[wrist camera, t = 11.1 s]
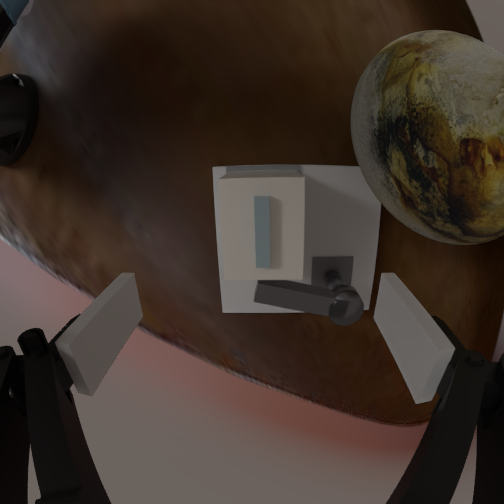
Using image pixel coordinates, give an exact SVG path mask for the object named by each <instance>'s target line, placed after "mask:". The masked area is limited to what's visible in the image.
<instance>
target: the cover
mask: <svg viewBox="0 0 504 504" xmlns="http://www.w3.org/2000/svg"><path fill="white" fill-rule="evenodd" d="M218 184H219V202H220V219H221V235H222V251H223V265H224V279H225V280H301V279H303V259H304V217H305V177H304V176H303V175H301V174H300V173H299V172H298V171H297V170H255V171H230V172H229V173H227V174H225V175H224V176H222V177H221V178H219V179H218Z"/></svg>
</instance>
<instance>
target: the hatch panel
mask: <svg viewBox="0 0 504 504" xmlns="http://www.w3.org/2000/svg"><path fill="white" fill-rule="evenodd" d="M255 170H297V171H298V172H299V173H300V174H301V175H303V176H304V177H305V217H304V259H303V279H301V280H289V281H294V282H299V283H304V284H309V285H314V286H319V287H324V288H327V285H326V283H325V280H324V276H325V274H326V273H327V272H328V271H330V270H336V271H338V272H339V273H340V275H341V277H342V279H343V281H344V283H345V285H350V286H352V287H354V288H355V289H356V290H357V292H358V294H359V295H360V297H361V299H362V301H363V303H364V310H369V304H370V298H371V292H372V285H373V278H374V271H375V263H376V254H377V245H378V235H379V224H380V211H381V202H380V201H379V200H378V199H377V197H376V196H375V195H374V193H373V192H372V190H371V189H370V187H369V185H368V184H367V182H366V180H365V178H364V176H363V174H362V172H361V169H360V167H359V166H339V165H240V166H218V167H213V185H214V203H215V219H216V234H217V248H218V261H219V274H220V286H221V298H222V309H223V313H295V312H302V311H297V310H292V309H286V308H281V307H276V306H271V305H266V304H261V303H256V302H253V301H254V292H255V288H256V284H257V280H225V279H224V265H223V251H222V235H221V219H220V202H219V184H218V179H219V178H221V177H222V176H224V175H225V174H227V173H229V172H230V171H255Z"/></svg>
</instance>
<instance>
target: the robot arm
mask: <svg viewBox="0 0 504 504" xmlns="http://www.w3.org/2000/svg"><path fill="white" fill-rule="evenodd" d="M28 2H29V0H0V48H1V46H2V45H3V43H4V41H5V40H6V38H7V36H8V35H9V33H10V31H11V30H12V28H13V27H15V25H16V23H17V20H18V18H19V16H20V15H21V13H22V11H23V10H24V8H25V7H26V5H27V4H28ZM37 115H38V96H37V90H36V87H35V85H34V83H33V81H32V80H31V79H30V78H29V77H28V76H26V75H23V74H15V73H12V74H7V75H4V76H0V166H4V165H9V164H12V163H14V162H16V161H17V160H18V159H19V158H20V157H21V156H22V155H23V153H24V152H25V151H26V149H27V147H28V145H29V143H30V141H31V139H32V136H33V133H34V130H35V126H36V121H37ZM142 317H143V314H142V310H141V305H140V301H139V296H138V291H137V286H136V281H135V275H134V273H121V274H120V275H119V276H118V277H117V278H116V279H115V280H114V281H113V282H112V283H111V284H110V285H109V286H108V287H107V288H106V289H105V290H104V291H103V292H102V293H101V294H100V295H99V296H98V297H97V298H96V299H95V300H94V301H93V302H92V303H91V304H90V305H89V306H88V307H87V308H86V309H85V310H84V312H83V313H82V314H79V315H77V316H75V317H74V318H72V319H71V320H70V321H69V322H68V323H67V324H66V326H64V327H63V328H62V330H61V331H59V333H58V334H57V335H56V336H55V337H54V338H53V339H52V340H51V341H50V342H49V343H48V342H47V340H46V337H45V335H44V332H43V330H42V329H40V328H32V329H29V330H26V331H25V332H23V333H22V334H21V335H20V336H19V337H18V340H17V341H18V343H19V345H20V348H21V350H22V352H23V354H24V355H16V354H15V352H14V350H13V347H11V346H2V347H0V504H28V501H27V500H28V497H27V496H28V494H27V492H28V486H27V485H28V464H29V450H30V444H31V450H32V456H33V462H34V467H35V472H36V476H37V480H38V485H39V489H40V493H41V498H40V499H37V500H36V501H35V504H111V502H110V500H109V498H108V496H107V493H106V491H105V489H104V487H103V485H102V482H101V480H100V477H99V475H98V472H97V470H96V467H95V465H94V462H93V459H92V457H91V454H90V451H89V448H88V446H87V443H86V440H85V437H84V433H83V430H82V427H81V424H80V420H79V417H78V413H77V410H76V406H75V402H74V398H73V394H72V393H71V391H70V387H71V386H72V384H73V383H74V385H75V387H76V389H77V391H78V393H81V394H85V395H89V396H93V394H94V393H95V391H96V389H97V388H98V386H99V384H100V383H101V381H102V379H103V378H104V376H105V374H106V373H107V371H108V370H109V368H110V366H111V365H112V363H113V362H114V360H115V359H116V357H117V355H118V354H119V352H120V351H121V349H122V348H123V346H124V344H125V343H126V341H127V340H128V338H129V337H130V335H131V334H132V332H133V331H134V329H135V328H136V326H137V325H138V323H139V322H140V320H141V319H142ZM374 320H375V322H376V324H377V326H378V327H379V329H380V331H381V333H382V335H383V337H384V339H385V341H386V343H387V345H388V347H389V349H390V351H391V353H392V355H393V357H394V359H395V361H396V363H397V365H398V367H399V369H400V371H401V373H402V375H403V377H404V379H405V381H406V383H407V386H408V388H409V390H410V392H411V394H412V396H413V399H414V401H415V403H416V404H418V403H423V402H427V401H431V400H432V398H433V396H434V394H435V392H436V390H437V392H438V394H439V395H440V398H439V400H438V402H437V404H436V405H435V407H434V409H433V411H432V413H431V415H432V417H431V419H430V421H429V424H428V426H427V428H426V431H425V433H424V435H423V437H422V439H421V442H420V444H419V446H418V448H417V450H416V452H415V454H414V456H413V458H412V460H411V462H410V464H409V465H408V467H407V469H406V471H405V473H404V475H403V476H402V478H401V480H400V481H399V483H398V485H397V487H396V488H395V490H394V491H393V493H392V495H391V496H390V498H389V500H388V501H387V503H386V504H449V503H450V501H451V499H452V496H453V494H454V492H455V489H456V486H457V484H458V481H459V479H460V476H461V473H462V471H463V468H464V464H465V462H466V459H467V456H468V452H469V449H470V446H471V442H472V439H473V435H474V431H475V428H476V424H477V457H476V474H475V485H474V495H473V502H472V504H504V353H503V354H502V356H501V358H500V360H499V362H487V360H486V359H485V357H484V356H483V355H481V354H480V353H478V352H476V351H472V350H466V349H465V347H464V346H463V345H462V343H461V342H460V341H459V340H458V338H457V337H456V336H455V335H454V334H453V332H452V331H451V330H450V329H449V327H448V326H447V325H446V323H445V322H444V321H443V320H441V319H440V318H438V317H437V316H430V315H429V314H428V312H427V311H426V310H425V309H424V307H423V306H422V305H421V304H420V303H419V301H418V300H417V299H416V298H415V296H414V295H413V294H412V293H411V292H410V291H409V289H408V288H407V287H406V286H405V285H404V284H403V282H402V281H401V280H400V279H399V278H398V277H397V275H396V274H395V273H381V279H380V285H379V291H378V297H377V302H376V307H375V313H374ZM9 391H10V393H11V395H10V394H9Z"/></svg>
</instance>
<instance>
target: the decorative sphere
mask: <svg viewBox="0 0 504 504" xmlns="http://www.w3.org/2000/svg"><path fill="white" fill-rule="evenodd" d="M351 136H352V143H353V148H354V152H355V155H356V159H357V162H358V164H359V167H360V169H361V172H362V174H363V176H364V178H365V180H366V182H367V184H368V185H369V187H370V189H371V190H372V192H373V193H374V195H375V196H376V197H377V199H378V200H379V201H380V202H381V204H382V205H383V206H384V207H385V208H386V209H387V210H388V211H389V212H390V213H391V214H392V215H393V216H394V217H395V218H396V219H398V220H399V221H400V222H401V223H403V224H404V225H405V226H407V227H408V228H410V229H412V230H413V231H415V232H417V233H419V234H421V235H423V236H425V237H427V238H430V239H433V240H436V241H439V242H443V243H448V244H457V245H471V244H478V243H483V242H488V241H491V240H494V239H496V238H498V237H500V236H502V235H504V56H502V55H501V54H500V53H499V52H497V51H496V50H495V49H493V48H491V47H490V46H488V45H487V44H485V43H483V42H481V41H479V40H477V39H475V38H473V37H470V36H467V35H464V34H460V33H456V32H452V31H443V30H428V31H421V32H415V33H412V34H409V35H406V36H403V37H401V38H399V39H397V40H395V41H393V42H391V43H390V44H388V45H387V46H386V47H384V48H383V49H382V50H381V51H380V52H379V53H377V54H376V55H375V56H374V57H373V59H372V60H371V61H370V62H369V64H368V65H367V67H366V68H365V70H364V72H363V73H362V75H361V77H360V79H359V81H358V84H357V86H356V89H355V92H354V97H353V101H352V108H351Z"/></svg>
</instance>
